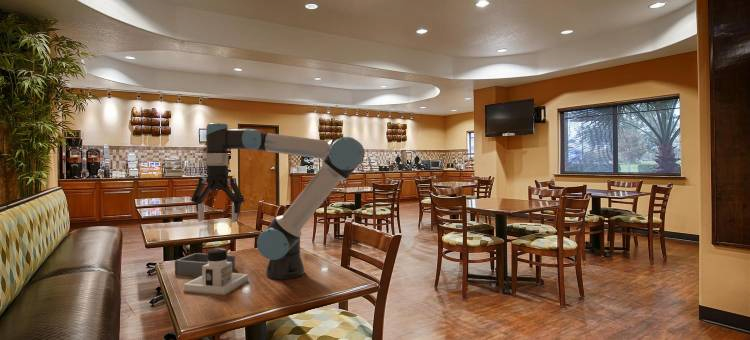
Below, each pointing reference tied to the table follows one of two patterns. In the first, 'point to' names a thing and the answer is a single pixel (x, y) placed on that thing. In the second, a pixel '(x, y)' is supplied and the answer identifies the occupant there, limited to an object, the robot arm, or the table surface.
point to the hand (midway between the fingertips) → (217, 221)
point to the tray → (217, 290)
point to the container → (217, 269)
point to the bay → (195, 264)
